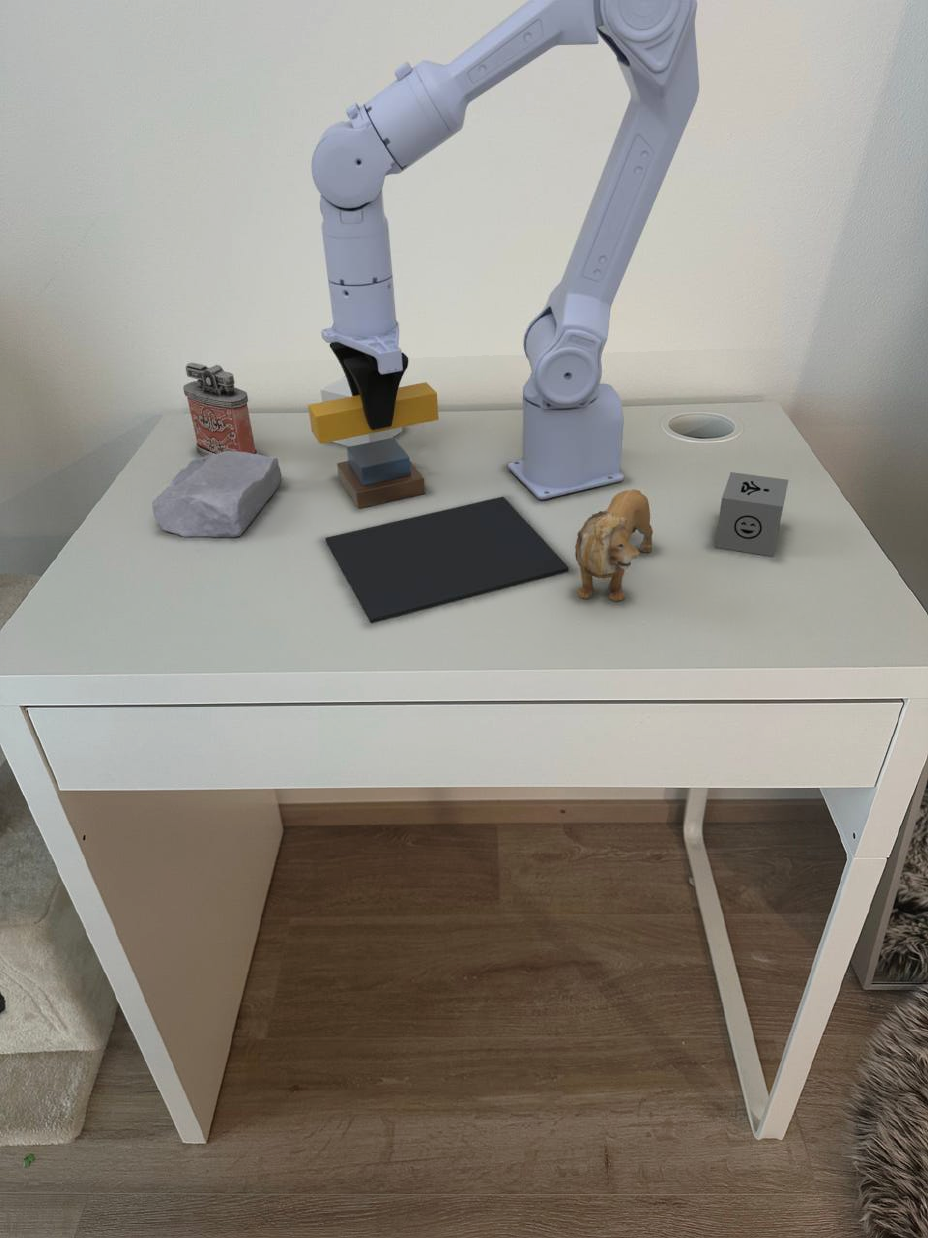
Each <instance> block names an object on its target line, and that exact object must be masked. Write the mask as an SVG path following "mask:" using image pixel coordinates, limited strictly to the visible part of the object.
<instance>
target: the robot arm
mask: <svg viewBox="0 0 928 1238" xmlns="http://www.w3.org/2000/svg"><path fill="white" fill-rule="evenodd" d="M697 9H698V1H697V0H527V1H525V2H524V3H523V4H522V5H521V6H520V7H518V8H517V9H516V10H515V11H513V12H512V13H511V14H509V15H508V16H507V17H506V18H504V19H503V20H502V21H501V22H499V23H498V24H496V25H495V26H494V27H493V28H492V29H491V30H490V31H488V32H487V33H486V34H484V35H483V36H482V37H481V38H479V39H478V40H477V41H475V42H474V43H473V44H472V45H470V46H469V47H468V48H467V49H466V50H464V51H463V52H461V53H460V54H459V55H458V56H457V57H455V58H454V59H452V60H451V61H450V62H449V63H448V64H442V63H437V62H435V61H431V60H427V59H423V60H421V61H420V62H418V63H417V64H415V65H414V66H413V67H412V66H411V64H410V63H409V61H406V62H404V63H402V64H401V65H399V66H398V67H397V68H396V69H395V70H394V76H395V78H396V80H394V81H393V82H392V83H390V84H389V85H387V86H385V88H384V89H382V90H381V91H380V92H378V93H377V94H375V95H374V96H373V97H372V98H369V100H367V101H366V102H365V103H363V104H362V105H360V106H359V104H358V103H357V102H354V103H353V104H351V105H350V106H349V107H348V108H346V111H345V114H346V116H347V117H348V119H349V120H348V121H346V120H342V121H338V122H335V123H334V124H332V125H330V126H329V127H328V128H326V129H325V131H324V132H323V133H321V136H320V137H319V139H318V142H317V144H316V146H315V148H314V151H313V153H312V154H313V155H312V157H311V176H312V180H313V183H314V185H315V187H316V189H317V192H318V193H319V194H320V195H319V197H320V200H319V210H320V213H321V216H322V222H321V226H320V227H321V235H322V243H323V250H324V251H323V252H324V261H325V267H326V276H327V283H328V290H329V292H328V293H329V298H330V299H329V300H330V307H331V316H332V326H331V327H327V328H323V329H322V330H321V331H320V333H321V338H322V340H323V341H324V342H325V343H328V344H329V348H330V349H331V351H332V353H333V354H334V356H335V357H336V359H337V361H338V362H339V364H340V367H341V369H342V371H343V373H344V375H345V376H346V378H347V381H348V384H349V387H350V390H351V394H352V396H357V395H360V397H361V401H362V405H363V409H364V413H365V417H366V420H367V423H368V425H369V427H370V429H371V430H376V429H381V428H385V427H390V426H392V421H393V416H394V409H395V402H396V396H397V391H398V388H399V387H400V385H401V382H402V380H403V376H404V374H405V372H406V370H407V369H408V367H409V357H408V356H407V355H406V354H405V353H404V352H403V351H402V349H401V348H400V346H399V345H400V344H399V343H400V324H399V321H398V320H397V313H396V311H397V310H396V301H395V299H396V298H395V289H394V286H395V285H394V275H393V264H392V254H391V241H390V240H391V239H390V228H389V221H388V218H387V216H386V214H385V207H384V195H383V194H384V193H383V186H384V183H385V179H386V177H387V176H391V175H399V174H401V173H403V172H404V171H406V170H407V169H408V168H410V167H411V166H412V165H414V164H415V163H416V162H418V161H419V160H421V159H422V158H424V157H425V156H426V155H428V154H429V153H431V152H432V151H434V150H435V149H436V148H438V147H439V146H441V145H442V144H444V143H445V142H447V140H449V139H450V138H452V137H453V136H454V135H456V134H457V133H459V132H460V131H462V129H463V128H464V124H465V118H466V113H467V108H468V106H469V104H470V103H471V102H473V101H475V100H476V99H477V98H479V97H480V96H482V95H483V94H485V93H487V91H489V90H491V89H492V88H494V87H495V86H497V85H498V84H500V83H501V82H503V81H504V80H506V79H508V78H509V77H510V76H512V75H513V74H515V73H516V72H518V71H519V70H521V69H522V68H524V67H525V66H527V65H529V64H530V63H532V62H533V61H535V60H536V59H538V58H539V57H541V56H542V55H543V54H545V53H546V52H548V51H549V50H551V49H552V48H554V47H557V46H576V45H577V46H579V45H581V46H583V45H598V44H599V37H600V38H601V39H602V40H603V41H604V43H606V45H607V46H608V47H609V48H610V49H611V51H612V52H613V54H614V55H615V57H616V62H617V64H618V66H619V69H620V70H621V73H622V76H623V78H624V81H625V83H626V86H627V88H628V91H629V93H630V100H629V101H628V105H627V107H626V109H625V112H624V114H623V117H622V120H621V123H620V125H619V127H618V130H617V133H616V136H615V138H614V141H613V143H612V146H611V149H610V151H609V154H608V157H607V160H606V162H605V165H604V167H603V170H602V172H601V175H600V178H599V180H598V183H597V186H596V188H595V191H594V193H593V196H592V198H591V201H590V204H589V207H588V209H587V212H586V214H585V217H584V219H583V222H582V225H581V227H580V231H579V233H578V235H577V238H576V241H575V243H574V246H573V249H572V251H571V254H570V256H569V259H568V262H567V264H566V267H565V270H564V272H563V275H562V277H561V279H560V281H559V283H557V285H556V286H555V287H554V288H553V289H552V290H551V292H550V293H549V296H548V298H547V301H546V303H545V305H544V307H543V309H542V310H541V311H540V313H538V315H536V316H535V317H534V318H533V319H532V320H531V321H530V323H529V324H528V326H527V327H526V329H525V331H524V334H523V339H522V340H523V341H522V343H523V351H524V355H525V357H526V359H527V360H528V363H529V367H530V371H531V373H530V375H529V377H528V379H527V380H526V382H525V383H524V384H523V386H522V459H518V460H514V461H510V462H508V463H507V469H508V470H509V471H510V472H511V473H513V474H514V476H515V477H517V479H518V480H519V481H520V482H521V483H522V484H523V485H524V486H525V487H526V488H527V489H528V490H529V491H530V492H531V493H532V494H533V495H534V496H535V497H536V498H537V499H538V500H548V499H551V498H556V497H561V496H564V495H568V494H572V493H577V492H580V491H584V490H589V489H593V488H598V487H601V486H606V485H611V484H615V483H618V482H623V481H624V479H625V478H624V477H625V475H624V474H623V473H622V472H621V467H622V466H621V465H622V450H623V440H624V439H623V438H624V437H623V436H624V424H625V423H624V417H625V416H624V410H623V409H624V408H623V405H622V404H623V403H622V401H621V398H620V396H619V394H618V392H617V391H616V390H615V388H614V387H613V386H612V385H611V384H609V383H603V382H601V381H602V376H603V367H602V366H603V365H602V356H603V355H602V354H603V351H604V348H605V346H606V343H607V341H608V339H609V338H608V337H609V331H610V329H609V328H610V319H611V308H612V305H613V302H614V300H615V299H616V295H617V293H618V291H619V288H620V286H621V283H622V281H623V278H624V276H625V274H626V271H627V269H628V266H629V264H630V262H631V260H632V257H633V254H634V252H635V250H636V248H637V245H638V242H639V240H640V238H641V235H642V233H643V231H644V228H645V226H646V224H647V221H648V219H649V216H650V214H651V212H652V210H653V207H654V204H655V202H656V200H657V197H658V195H659V192H660V190H661V189H662V188H661V187H662V186H663V183H664V180H665V178H666V175H667V173H668V170H669V168H670V166H671V164H672V161H673V159H674V156H675V154H676V151H677V149H678V147H679V144H680V142H681V139H682V138H683V135H684V132H685V130H686V127H687V126H688V124H689V123H688V122H689V120H690V118H691V115H692V114H693V111H694V108H695V106H696V103H697V101H698V96H699V93H700V77H699V76H700V75H699V62H698V49H697V37H696V36H697V35H696V34H697V33H696V18H697V17H696V16H697V15H696V14H697ZM345 376H344V377H345Z"/></svg>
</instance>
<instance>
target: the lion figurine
mask: <svg viewBox="0 0 928 1238" xmlns="http://www.w3.org/2000/svg"><path fill="white" fill-rule="evenodd" d="M636 531H637V532H638V533H639V534H640V535H642V536H643V537H642V541H641V542H640V543H639V550H638V549H637V548H636V547H635V546H634V545H633V544H632V543H631V542H630V541H631V540H630V539H631V537H632V534H634V533H635V532H636ZM653 533H654V530H653V527H652V525H651V510H650V504H649V499H648V497H647V496H646V495H645V494H643V493H642V492H641V491H640V490H639V489H637V488H636V489H634V488H632V489H626V490H623V491H620V492H618V493H616V494H615V495H614V496H613V498H612V499H611V501H610V504H609V505H608V507H607V508H606V510H603V511H602V510H601V511H599V512H596V513H592V514H591V516H589V517H588V518H587V520H586V521H585V522H584V523H583V525H582V527H581V528H580V529H579V530H578V532H577V538H576V542H575V546H574V547H575V551H574V552H575V553H574V555H575V556H574V557H575V561H576V562H577V565H578V566H579V569H580V575H581V580H582V582H581V583H582V585H581V587H580V588H578V589H577V591H576V594H577V596H578V597H579V598H580V599H585V600H588V599H590V598H591V597H592V595H593V593H594V583H593V578H595V579H596V578H597V579H604V580H605V579H609V578H610V582H609V584H608V591H607V592H608V593H609V594H608V595H609V599H610V600H611V601H613V602H620V601H622V600H625V597H626V596H625V594H624V593H623V578H624V575H625V570H628V569H629V568H630V567H631V565H632V562H633V561H634V560H636V559H637V558H638V556H639V555H640V551H641V552H642V553H651V552H652V551H653V538H652V537H653Z"/></svg>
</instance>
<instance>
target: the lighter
mask: <svg viewBox="0 0 928 1238" xmlns="http://www.w3.org/2000/svg"><path fill="white" fill-rule="evenodd" d="M184 368H185V372H186V377H187V378H191V379H195V381H191V382H187V383H186V384H184V385H183V387H182V390H183V394H184V396H185V397H186V399H187V403H188V407H189V412H190V417H191V422H192V426H193V429H194V434H195V438H196V439H195V440H196V443H195V447H196V452H197V455H199V456H201V457H205V456H207V455H209V454H218V453H221V452H225V451H232V452H234V451H237V452H247V453H251V454H259V451H258V450H257V449H256V445H255V440H254V433H253V429H252V422H251V417H250V413H249V408H248V406H249V405H248V402H249V397H248V392H247V391H245V390H243V389H240V388H238V387H235V383H236V382H235V378H234V373H233V372H229V371H226V370H224V369H223V367H222V366H221V365H219V364H215V365H213V366H211V367H208V366H207V365H204V364H200V363H197V362H189V363H186V365H185V367H184Z"/></svg>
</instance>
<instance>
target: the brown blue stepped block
mask: <svg viewBox="0 0 928 1238" xmlns="http://www.w3.org/2000/svg"><path fill="white" fill-rule="evenodd" d="M346 452H347V460H346V461H340V462H337V463H336V468H337V475H338V479H339V481H340V483H341V485H342V486H343V487H344V489H345V490H346V492H347V493H348V495H349V497H350V498H351V500H352V501H353V503H354V505H355V506H356V507H357V509H363V508H367V507H372V506H377V505H380V504H381V505H382V504H385V503H389V502H395V501H398V500H403V499H407V498H411V497H415V496H416V497H417V496H420V495H421V496H422V495H425V494H426V488H425V487H426V485H425V477H424V476H423V475H422V473H421V471H419V470H418V469H417V467H416V466H415V465H414V463H412V461H411V457H410V456H409V455H408V453H406V451H405V450H404V448H403V447H402V446H401V445H400V444H399V442H398V441H397V440H396V439H395V437H393V438H389V439H384V440H379V441H375V442H370V443H365V444H360V445H355V446H350V447H349V446H346Z"/></svg>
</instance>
